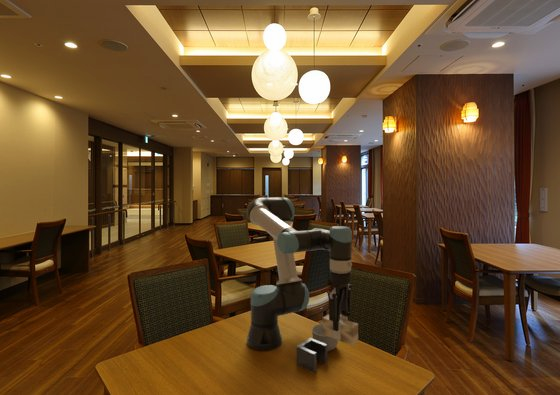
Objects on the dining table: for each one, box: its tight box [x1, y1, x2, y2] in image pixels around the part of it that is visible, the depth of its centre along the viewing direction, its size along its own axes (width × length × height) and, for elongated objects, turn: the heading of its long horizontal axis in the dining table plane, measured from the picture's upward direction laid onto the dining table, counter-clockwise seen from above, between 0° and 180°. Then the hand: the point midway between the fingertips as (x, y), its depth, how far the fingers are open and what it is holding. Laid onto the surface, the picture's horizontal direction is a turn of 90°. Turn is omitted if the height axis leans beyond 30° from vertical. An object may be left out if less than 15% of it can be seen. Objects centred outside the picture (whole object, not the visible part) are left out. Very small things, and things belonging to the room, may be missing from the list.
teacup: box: [311, 321, 339, 352], centre depth 126 cm, size 14×11×8 cm
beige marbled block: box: [321, 313, 359, 346], centre depth 105 cm, size 12×4×6 cm, turn 49°
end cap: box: [295, 337, 328, 374], centre depth 113 cm, size 8×9×7 cm
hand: (340, 336), depth 105 cm, fingers closed on beige marbled block, 4 cm apart
